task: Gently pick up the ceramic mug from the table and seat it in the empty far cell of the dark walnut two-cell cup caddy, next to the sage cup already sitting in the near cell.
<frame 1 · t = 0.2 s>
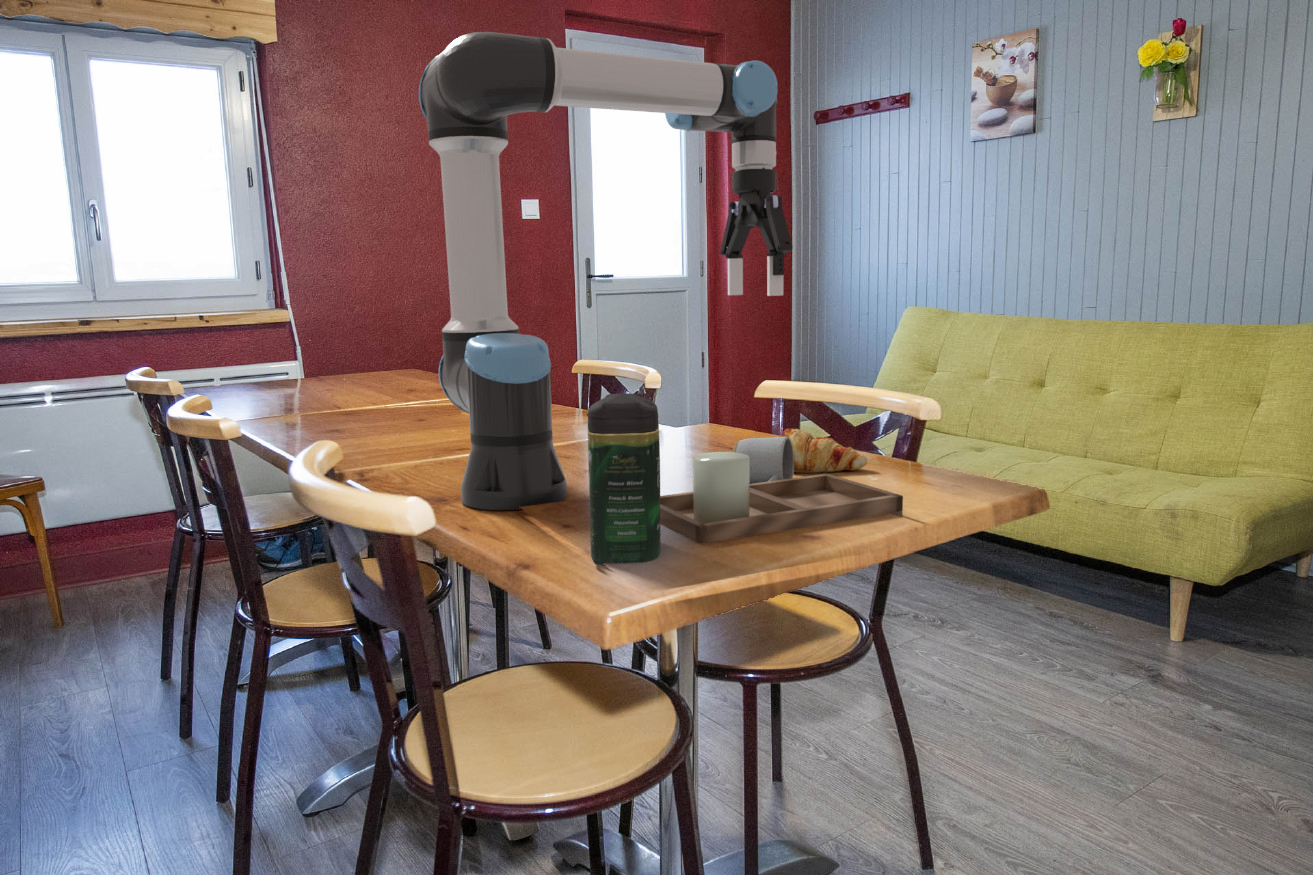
hand: (754, 295, 163), 28 cm above the table, fingers open, 13 cm apart
caddy: (770, 519, 120), on the table
ceramic mug: (762, 490, 138), on the table
croissant: (800, 471, 152), on the table
sage cup: (721, 519, 117), point 1 cm above the table, touching caddy
coffee jar: (626, 560, 105), on the table
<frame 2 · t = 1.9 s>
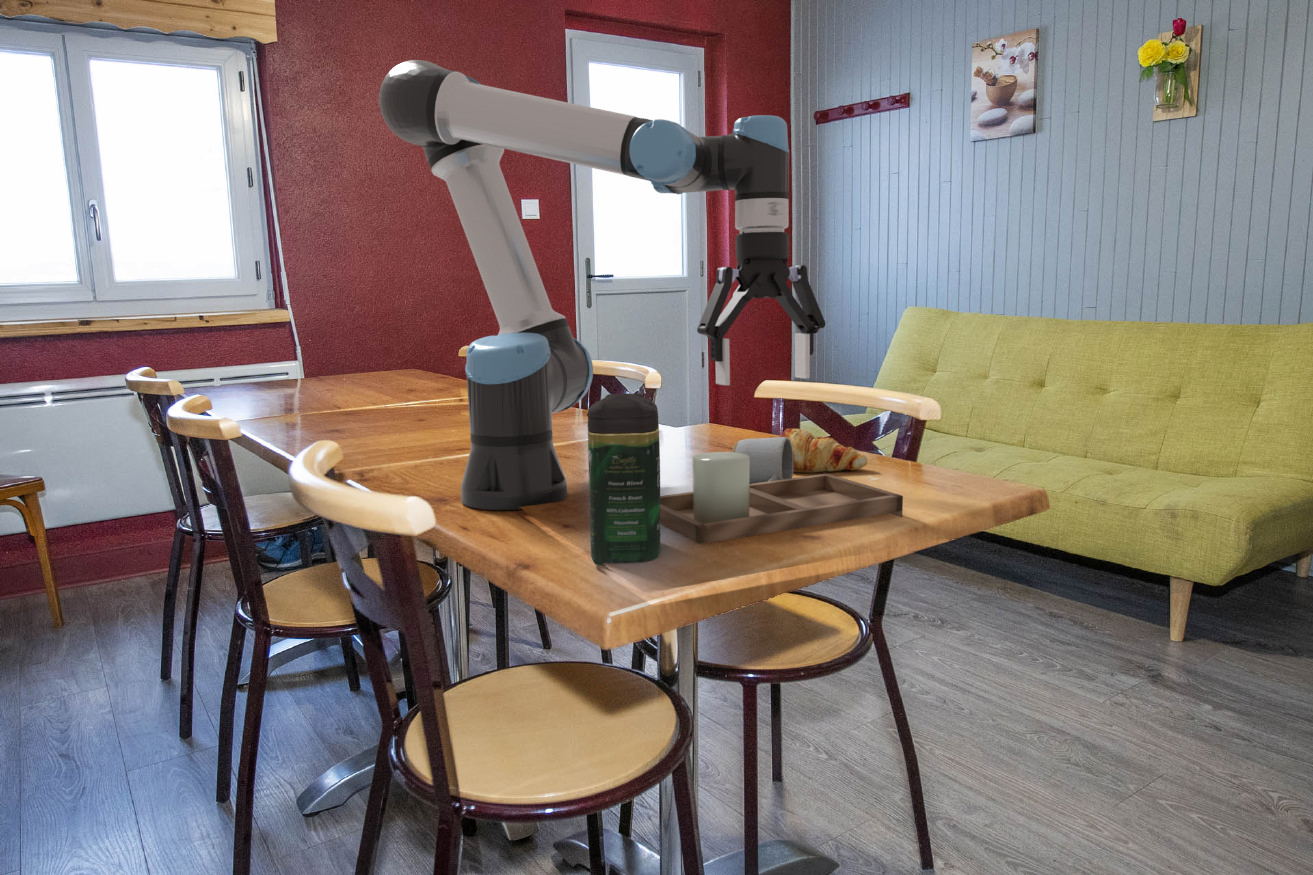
hand: (763, 381, 135), 16 cm above the table, fingers open, 13 cm apart
nothing on the table moved.
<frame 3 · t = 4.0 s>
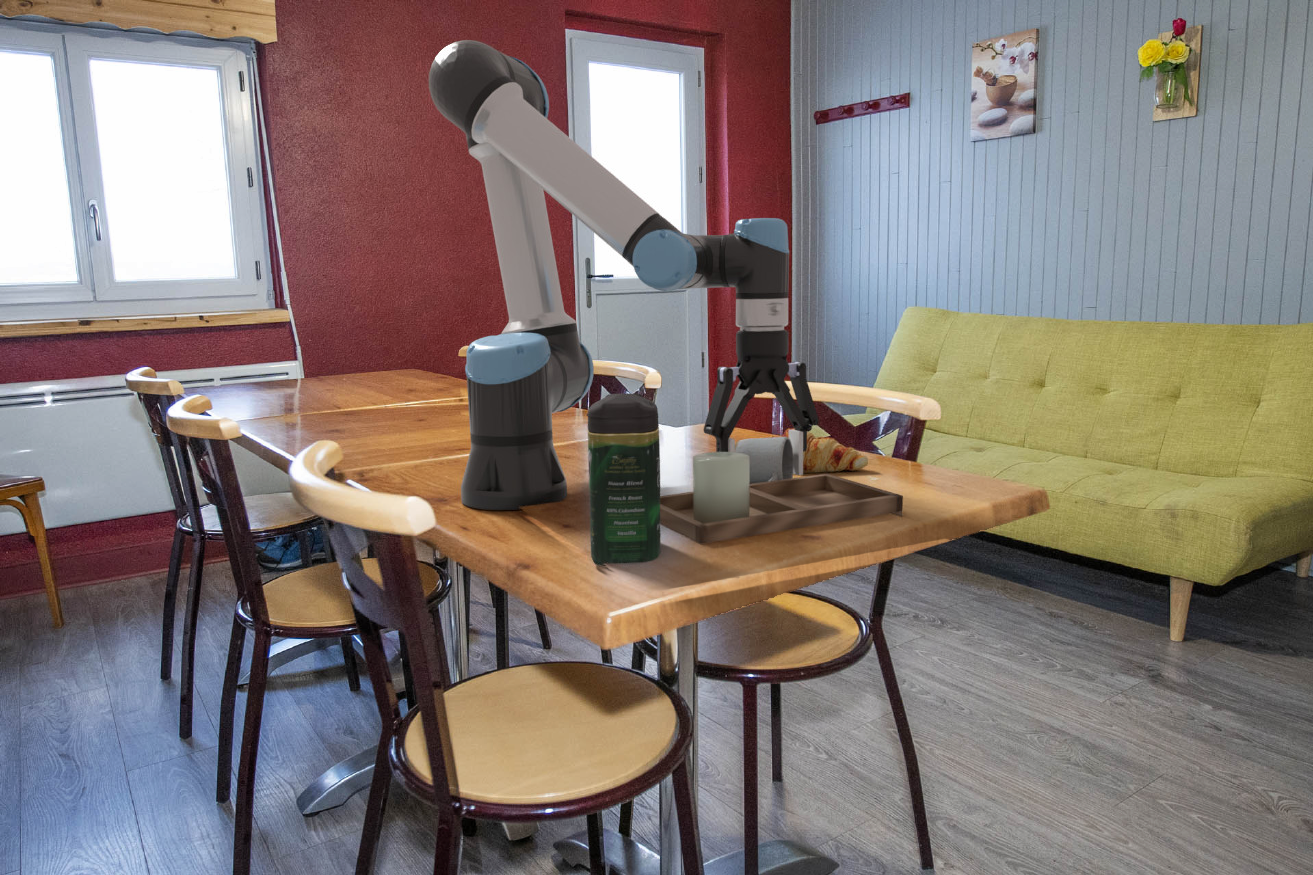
hand: (762, 477, 138), 2 cm above the table, fingers closed on ceramic mug, 11 cm apart
ceramic mug: (762, 491, 137), on the table, touching gripper
everything else where it was.
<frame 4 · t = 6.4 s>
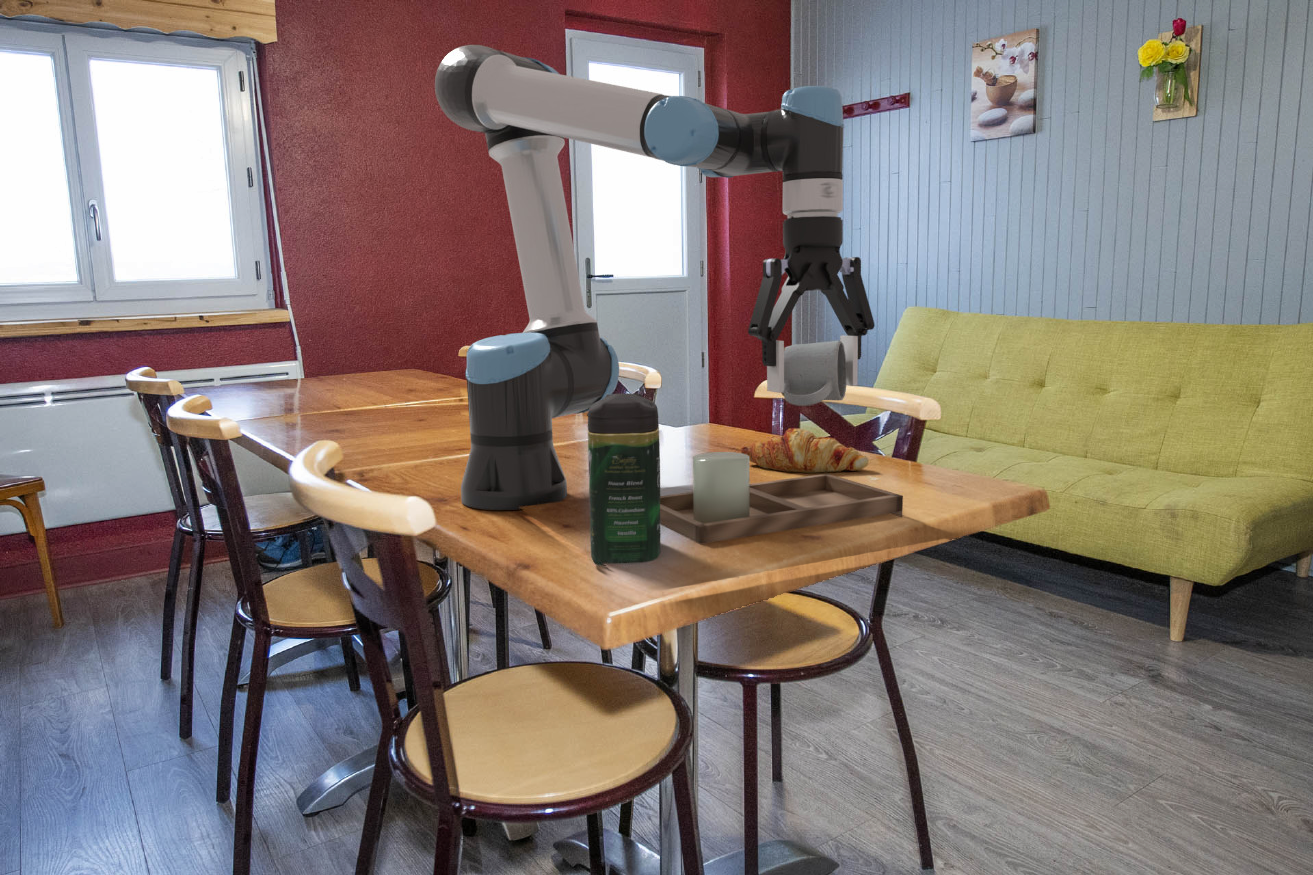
hand: (812, 388, 122), 16 cm above the table, fingers closed on ceramic mug, 11 cm apart
ceramic mug: (812, 402, 122), point 15 cm above the table, touching gripper
everything else where it was.
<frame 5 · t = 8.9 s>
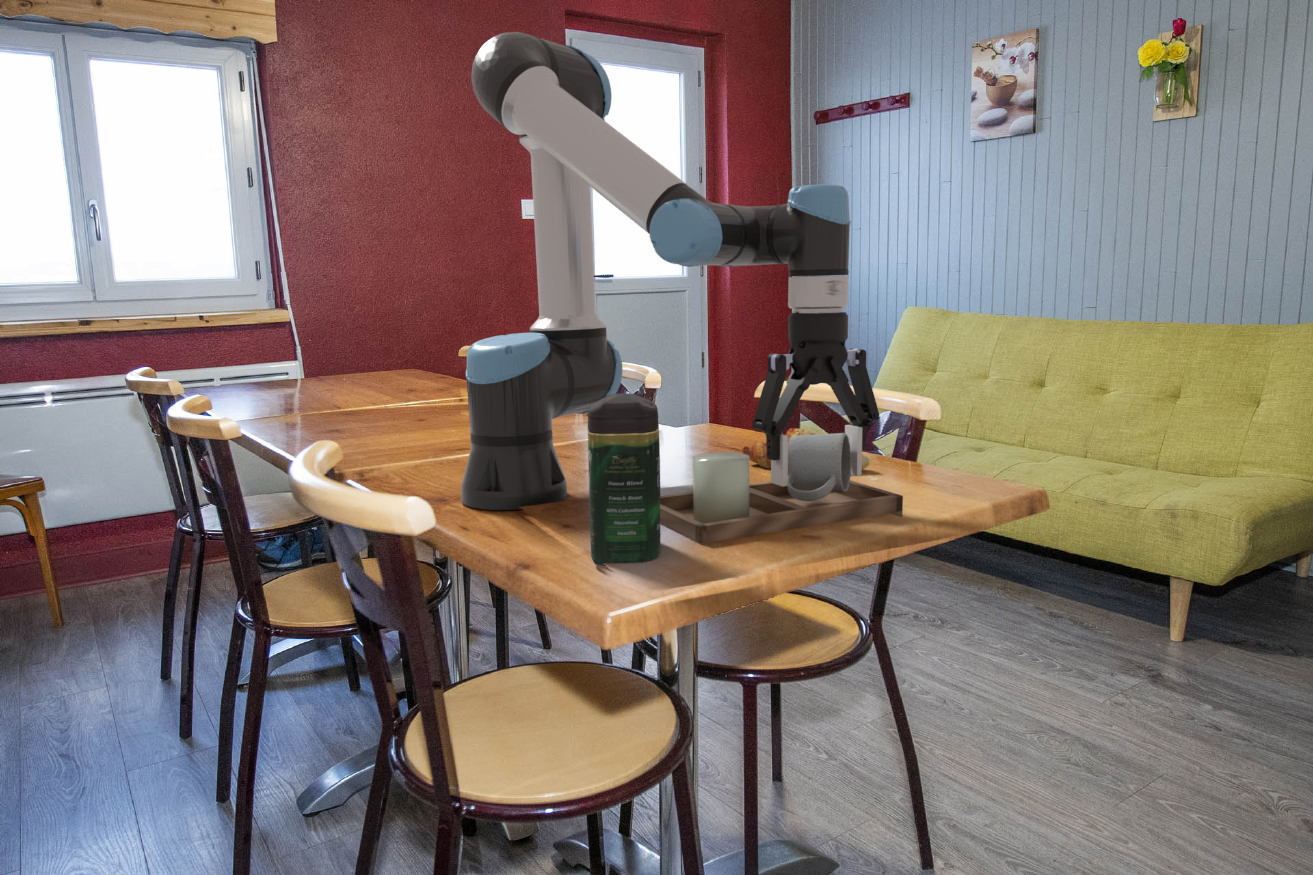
hand: (816, 479, 122), 4 cm above the table, fingers closed on ceramic mug, 11 cm apart
ceramic mug: (816, 494, 122), point 3 cm above the table, touching gripper
everything else where it was.
when the fingers open (4 cm above the table, at t = 9.8 s): ceramic mug drops 2 cm, resting on caddy.
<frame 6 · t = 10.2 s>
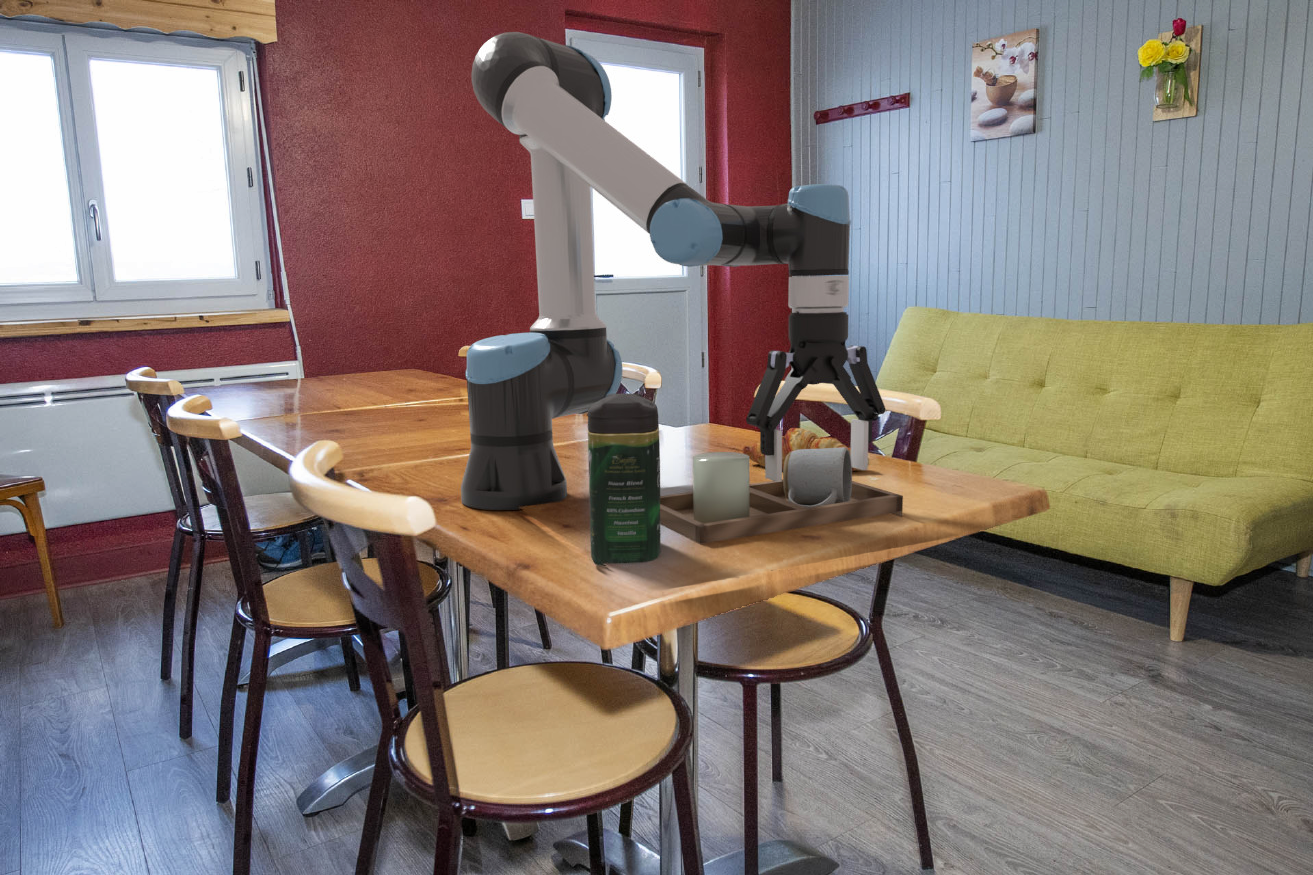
hand: (817, 474, 122), 5 cm above the table, fingers open, 13 cm apart
ceramic mug: (818, 508, 122), point 1 cm above the table, touching caddy
everything else where it was.
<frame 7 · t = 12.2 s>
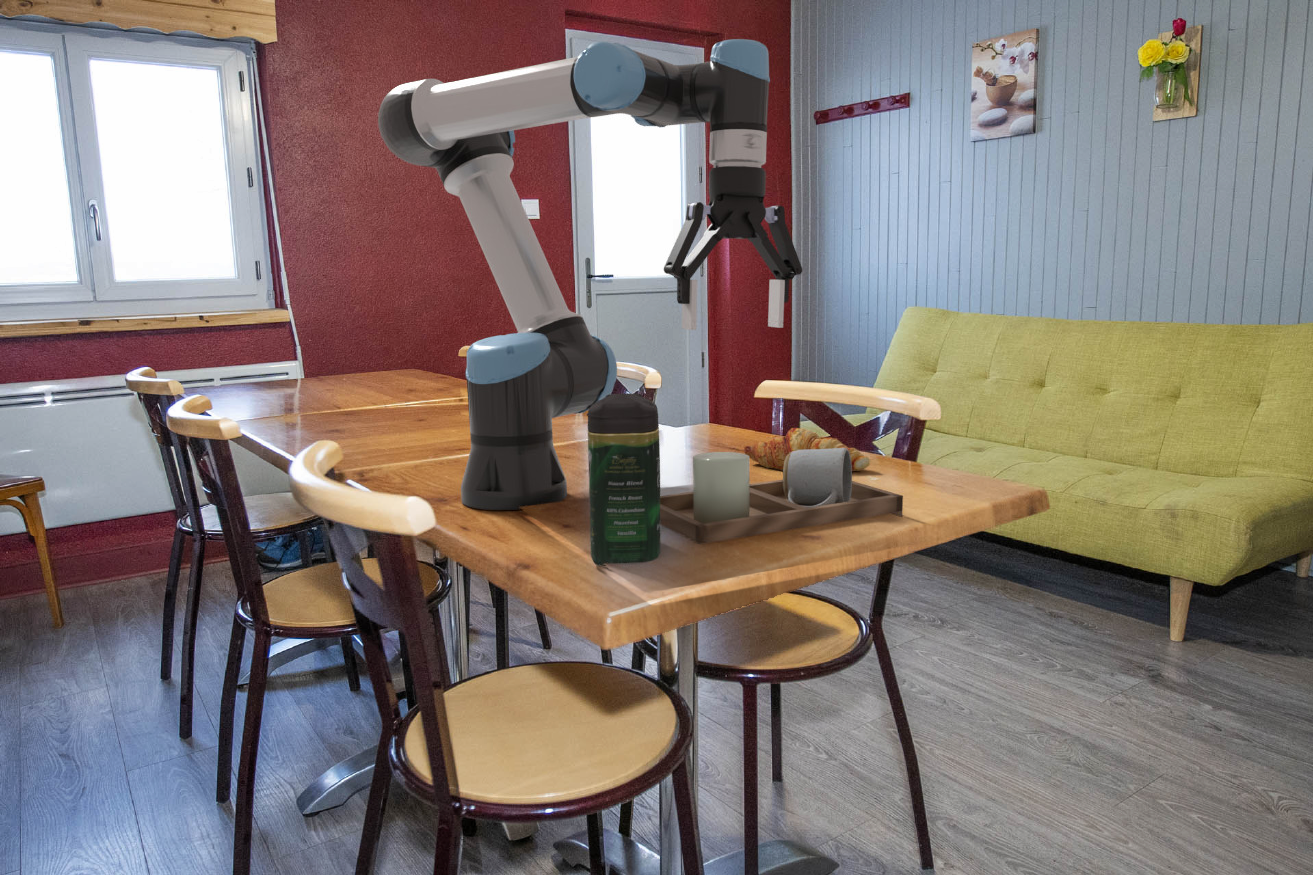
hand: (733, 328, 127), 24 cm above the table, fingers open, 13 cm apart
nothing on the table moved.
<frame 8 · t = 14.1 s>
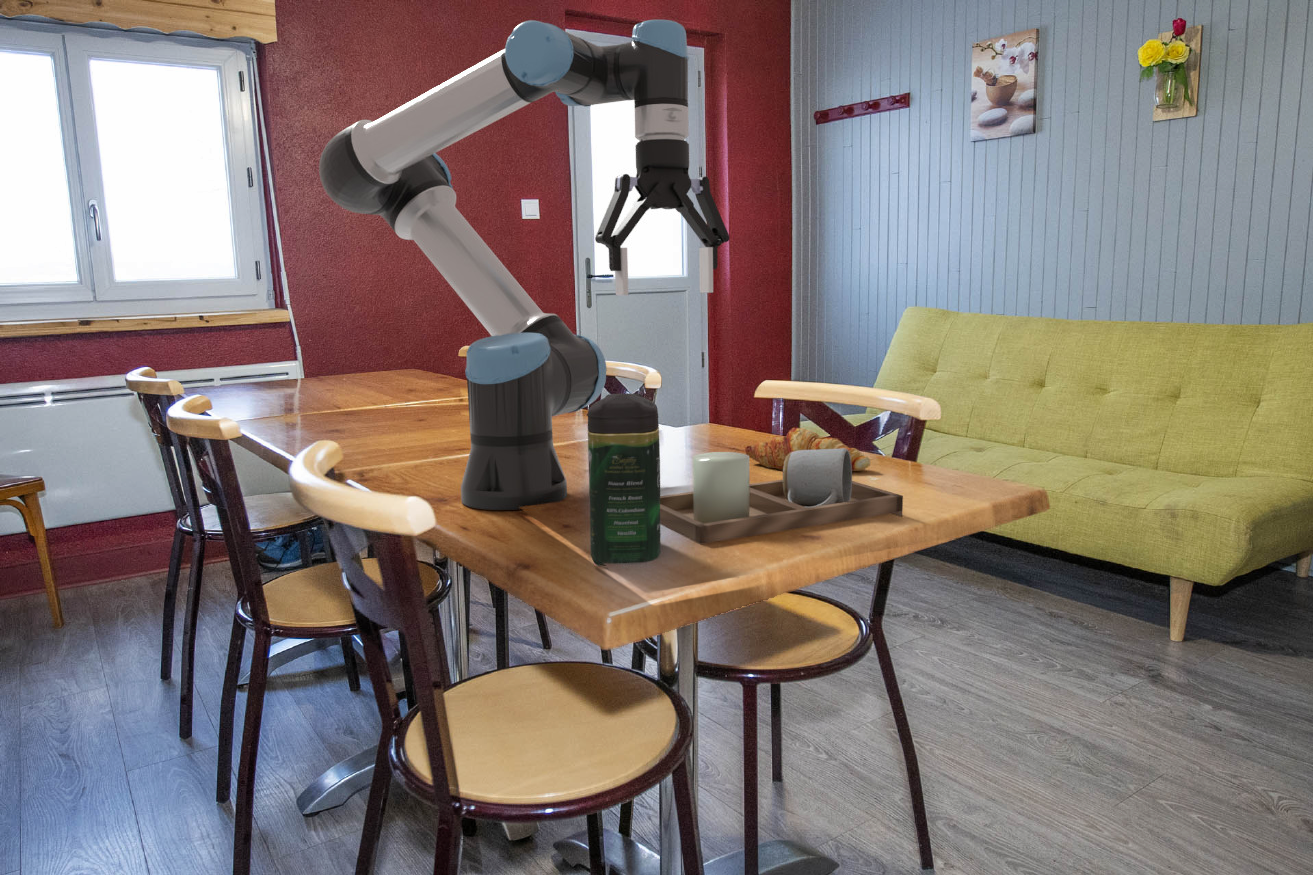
hand: (665, 294, 134), 29 cm above the table, fingers open, 13 cm apart
nothing on the table moved.
at the end: ceramic mug inside the target area on the caddy (1.4 cm from its centre), point 0.8 cm above the caddy's base; ceramic mug tilted 0°; ceramic mug touching caddy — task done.
